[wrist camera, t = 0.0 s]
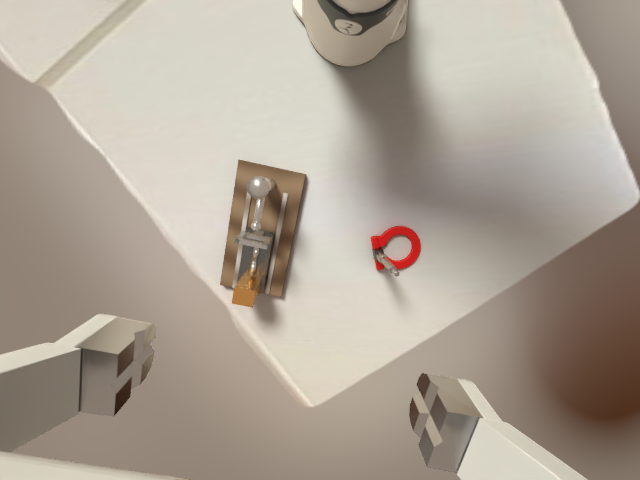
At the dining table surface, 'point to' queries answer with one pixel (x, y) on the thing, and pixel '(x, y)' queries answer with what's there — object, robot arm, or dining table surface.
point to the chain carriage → (252, 265)
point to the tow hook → (386, 262)
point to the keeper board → (264, 222)
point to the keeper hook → (259, 196)
